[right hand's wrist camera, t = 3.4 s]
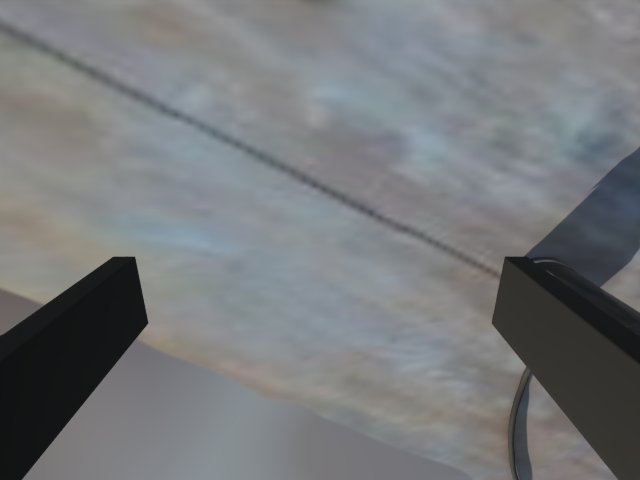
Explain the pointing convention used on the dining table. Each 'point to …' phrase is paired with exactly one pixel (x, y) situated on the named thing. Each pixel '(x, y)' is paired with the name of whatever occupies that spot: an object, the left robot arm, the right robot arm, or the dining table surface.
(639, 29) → the dining table surface
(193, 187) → the dining table surface
